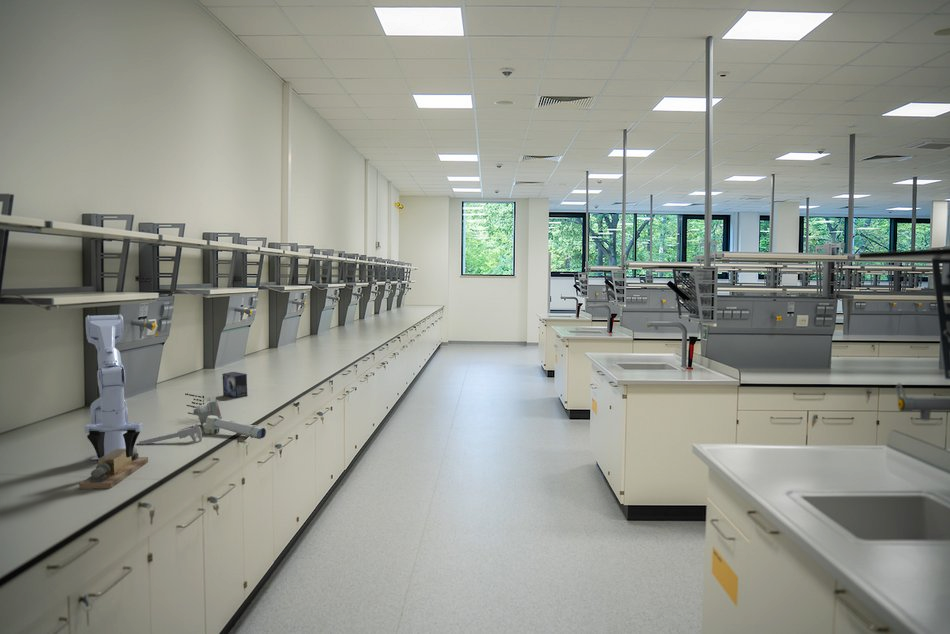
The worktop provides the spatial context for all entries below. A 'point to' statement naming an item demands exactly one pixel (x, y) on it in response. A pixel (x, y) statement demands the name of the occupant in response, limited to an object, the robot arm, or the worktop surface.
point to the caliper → (176, 435)
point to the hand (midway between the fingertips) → (115, 456)
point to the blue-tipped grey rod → (232, 427)
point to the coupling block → (116, 460)
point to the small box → (235, 384)
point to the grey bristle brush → (206, 409)
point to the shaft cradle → (104, 480)
